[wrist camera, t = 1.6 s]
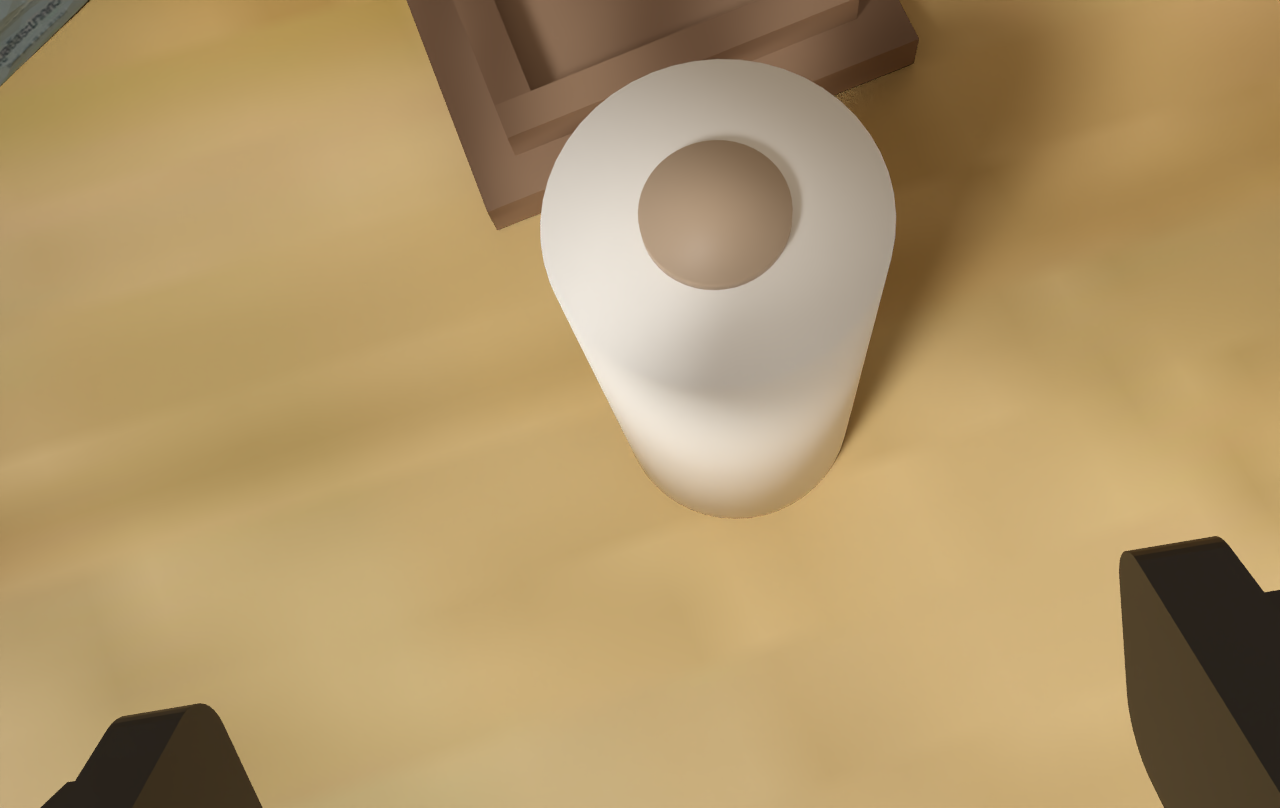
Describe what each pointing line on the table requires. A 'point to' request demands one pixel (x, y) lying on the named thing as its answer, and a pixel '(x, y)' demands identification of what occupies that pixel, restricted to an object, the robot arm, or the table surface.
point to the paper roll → (723, 274)
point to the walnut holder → (621, 65)
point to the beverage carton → (29, 28)
